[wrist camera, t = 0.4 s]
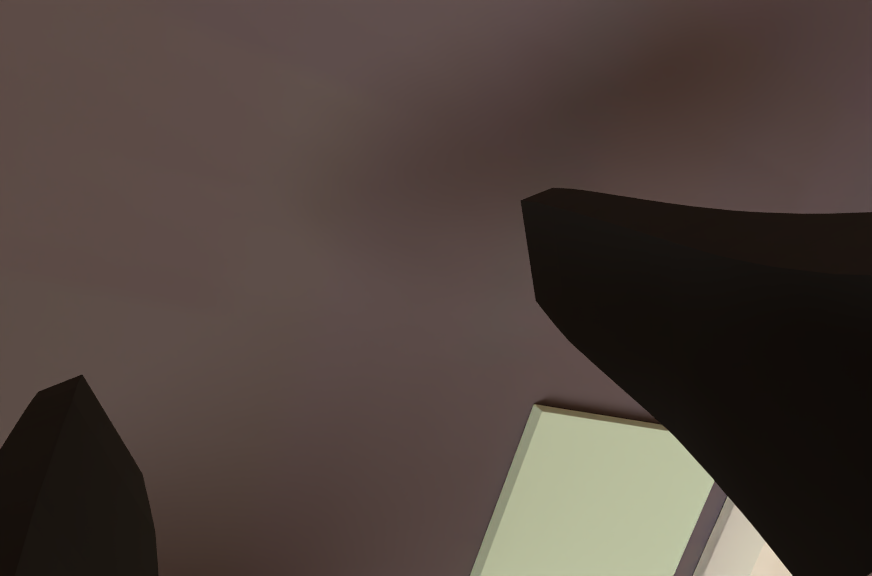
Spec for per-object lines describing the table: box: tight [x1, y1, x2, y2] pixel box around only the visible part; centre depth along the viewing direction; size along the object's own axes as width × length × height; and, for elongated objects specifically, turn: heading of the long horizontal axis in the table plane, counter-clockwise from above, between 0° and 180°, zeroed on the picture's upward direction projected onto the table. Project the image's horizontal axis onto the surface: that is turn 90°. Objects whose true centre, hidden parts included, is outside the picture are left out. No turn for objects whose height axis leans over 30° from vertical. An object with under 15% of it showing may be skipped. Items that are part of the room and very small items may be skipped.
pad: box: [470, 404, 714, 576], centre depth 30 cm, size 12×10×1 cm
